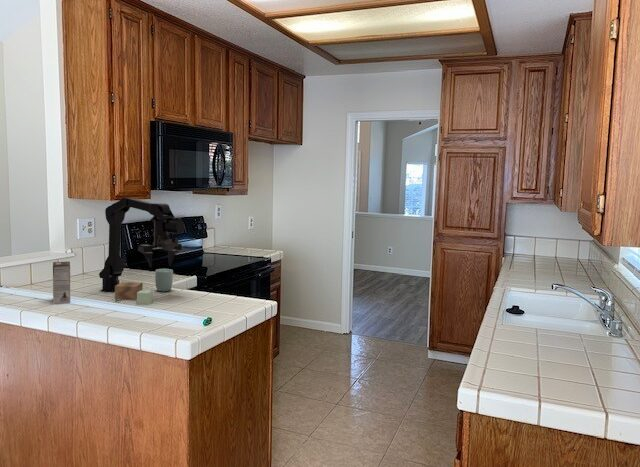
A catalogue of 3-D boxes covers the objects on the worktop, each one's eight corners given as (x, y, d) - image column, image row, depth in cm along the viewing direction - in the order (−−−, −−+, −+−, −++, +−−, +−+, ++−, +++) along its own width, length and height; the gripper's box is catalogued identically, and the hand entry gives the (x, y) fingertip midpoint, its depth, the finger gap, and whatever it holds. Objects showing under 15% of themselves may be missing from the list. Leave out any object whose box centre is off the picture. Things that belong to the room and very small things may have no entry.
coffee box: (52, 299, 207) (52, 261, 206) (69, 297, 210) (69, 261, 209) (53, 304, 199) (52, 265, 198) (70, 302, 202) (70, 264, 201)
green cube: (136, 304, 205) (136, 292, 205) (140, 301, 210) (140, 290, 210) (148, 304, 205) (148, 293, 205) (152, 302, 210) (152, 290, 210)
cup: (167, 293, 227) (167, 272, 226) (152, 291, 228) (152, 270, 227) (175, 290, 235) (175, 269, 234) (160, 288, 236) (161, 268, 235)
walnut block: (114, 299, 212) (114, 286, 211) (122, 295, 221) (122, 282, 220) (135, 300, 212) (136, 286, 212) (142, 295, 221) (142, 282, 220)
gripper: (150, 234, 204) (149, 271, 205) (189, 232, 217) (188, 267, 219) (137, 232, 211) (137, 267, 213) (175, 230, 225) (175, 263, 226)
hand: (160, 266), depth 218 cm, fingers open, 9 cm apart
